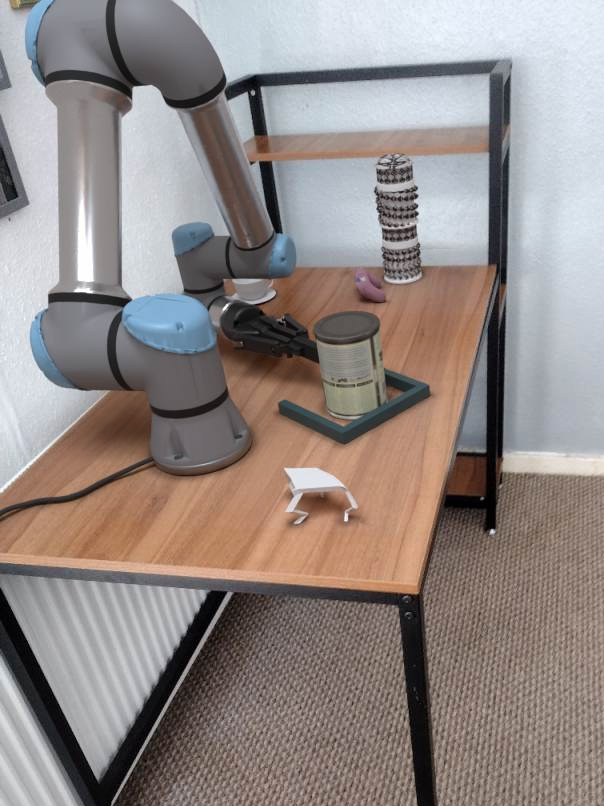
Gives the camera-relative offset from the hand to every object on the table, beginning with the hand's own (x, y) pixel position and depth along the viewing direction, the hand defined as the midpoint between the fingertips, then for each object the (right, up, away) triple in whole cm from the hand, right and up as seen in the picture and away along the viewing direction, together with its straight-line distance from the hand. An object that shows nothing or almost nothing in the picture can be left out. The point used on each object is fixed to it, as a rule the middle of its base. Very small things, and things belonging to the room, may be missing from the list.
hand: (320, 354), depth 129 cm
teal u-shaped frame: (+6, -8, 0) cm, 10 cm away
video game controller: (+7, +20, +38) cm, 43 cm away
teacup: (-18, +21, +44) cm, 52 cm away
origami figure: (+2, -26, -23) cm, 35 cm away
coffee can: (+6, -8, 0) cm, 10 cm away
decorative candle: (+15, +26, +45) cm, 54 cm away
